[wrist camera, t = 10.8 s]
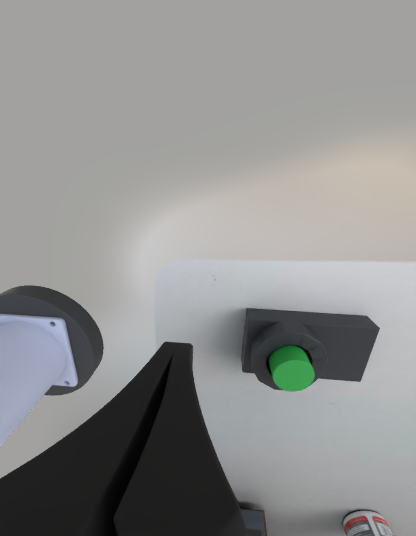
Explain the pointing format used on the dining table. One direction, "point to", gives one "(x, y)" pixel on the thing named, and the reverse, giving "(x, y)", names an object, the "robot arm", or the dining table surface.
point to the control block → (309, 342)
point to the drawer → (253, 522)
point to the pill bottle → (366, 524)
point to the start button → (291, 368)
